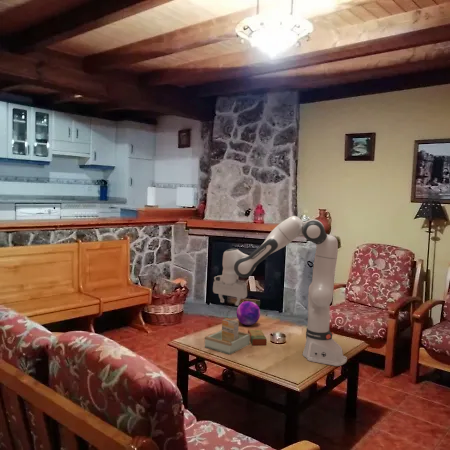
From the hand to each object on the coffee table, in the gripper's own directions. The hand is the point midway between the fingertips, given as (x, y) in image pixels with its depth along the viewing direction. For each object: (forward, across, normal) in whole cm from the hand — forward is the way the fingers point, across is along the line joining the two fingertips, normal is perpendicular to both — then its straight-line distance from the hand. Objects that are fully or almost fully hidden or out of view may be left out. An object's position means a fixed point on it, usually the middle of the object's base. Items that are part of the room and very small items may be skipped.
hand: (229, 303), depth 239 cm
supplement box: (+22, 0, -1) cm, 22 cm away
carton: (+24, -8, -18) cm, 31 cm away
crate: (+23, 0, 0) cm, 23 cm away
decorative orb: (+24, +11, -40) cm, 48 cm away
